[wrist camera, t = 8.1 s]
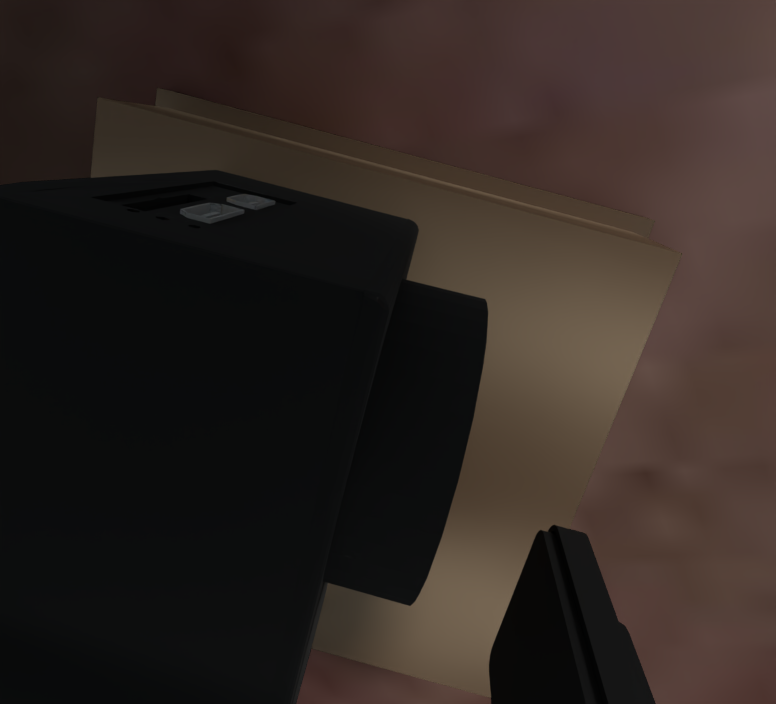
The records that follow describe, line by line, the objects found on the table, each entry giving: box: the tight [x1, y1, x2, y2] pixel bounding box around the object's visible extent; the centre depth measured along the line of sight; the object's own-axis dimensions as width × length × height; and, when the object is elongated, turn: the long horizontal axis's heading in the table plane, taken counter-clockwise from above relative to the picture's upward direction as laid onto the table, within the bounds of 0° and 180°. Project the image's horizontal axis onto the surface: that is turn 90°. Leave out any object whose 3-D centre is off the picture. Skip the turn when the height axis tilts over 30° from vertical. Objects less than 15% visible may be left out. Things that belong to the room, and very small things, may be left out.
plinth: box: [90, 88, 682, 698], centre depth 16 cm, size 13×13×4 cm
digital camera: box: [0, 170, 488, 704], centre depth 11 cm, size 10×5×7 cm, turn 166°
